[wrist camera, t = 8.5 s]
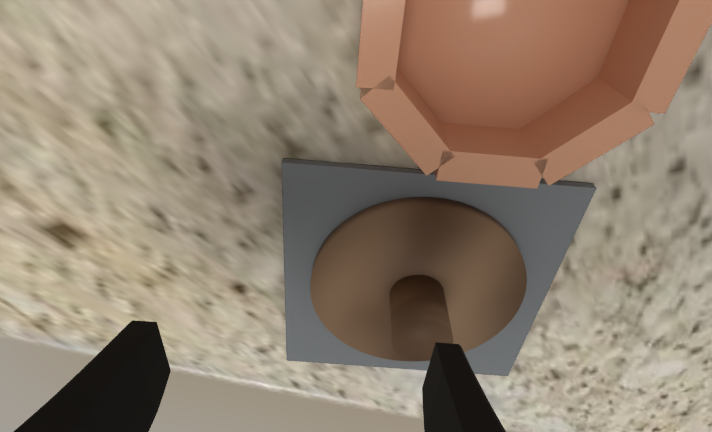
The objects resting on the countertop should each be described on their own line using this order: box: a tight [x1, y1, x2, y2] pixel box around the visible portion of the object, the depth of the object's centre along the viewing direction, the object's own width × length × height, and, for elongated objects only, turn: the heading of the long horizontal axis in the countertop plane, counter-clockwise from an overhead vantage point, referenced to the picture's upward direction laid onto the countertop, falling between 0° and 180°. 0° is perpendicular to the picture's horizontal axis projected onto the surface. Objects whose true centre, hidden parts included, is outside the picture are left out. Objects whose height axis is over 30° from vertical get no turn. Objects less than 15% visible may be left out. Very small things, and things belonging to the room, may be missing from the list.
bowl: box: [356, 0, 712, 189], centre depth 14 cm, size 10×10×4 cm
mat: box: [282, 158, 596, 376], centre depth 23 cm, size 14×14×1 cm
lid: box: [310, 197, 527, 361], centre depth 21 cm, size 11×11×4 cm
